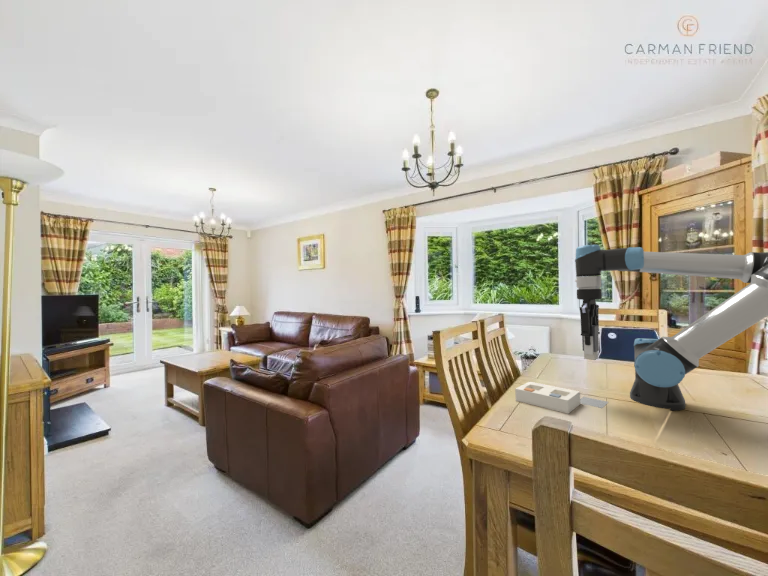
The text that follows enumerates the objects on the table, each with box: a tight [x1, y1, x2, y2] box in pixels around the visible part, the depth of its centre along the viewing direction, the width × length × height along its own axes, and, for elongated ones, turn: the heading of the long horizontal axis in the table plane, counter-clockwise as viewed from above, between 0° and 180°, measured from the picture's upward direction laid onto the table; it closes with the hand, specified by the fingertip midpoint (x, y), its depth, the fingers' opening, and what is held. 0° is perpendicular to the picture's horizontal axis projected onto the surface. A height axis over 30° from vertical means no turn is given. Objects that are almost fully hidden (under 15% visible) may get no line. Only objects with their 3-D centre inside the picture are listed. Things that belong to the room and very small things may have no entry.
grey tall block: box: [581, 325, 600, 361], centre depth 115 cm, size 4×4×12 cm
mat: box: [580, 396, 609, 409], centre depth 115 cm, size 8×8×1 cm
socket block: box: [514, 381, 581, 415], centre depth 116 cm, size 18×12×5 cm, turn 41°
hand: (590, 352), depth 115 cm, fingers closed on grey tall block, 4 cm apart
